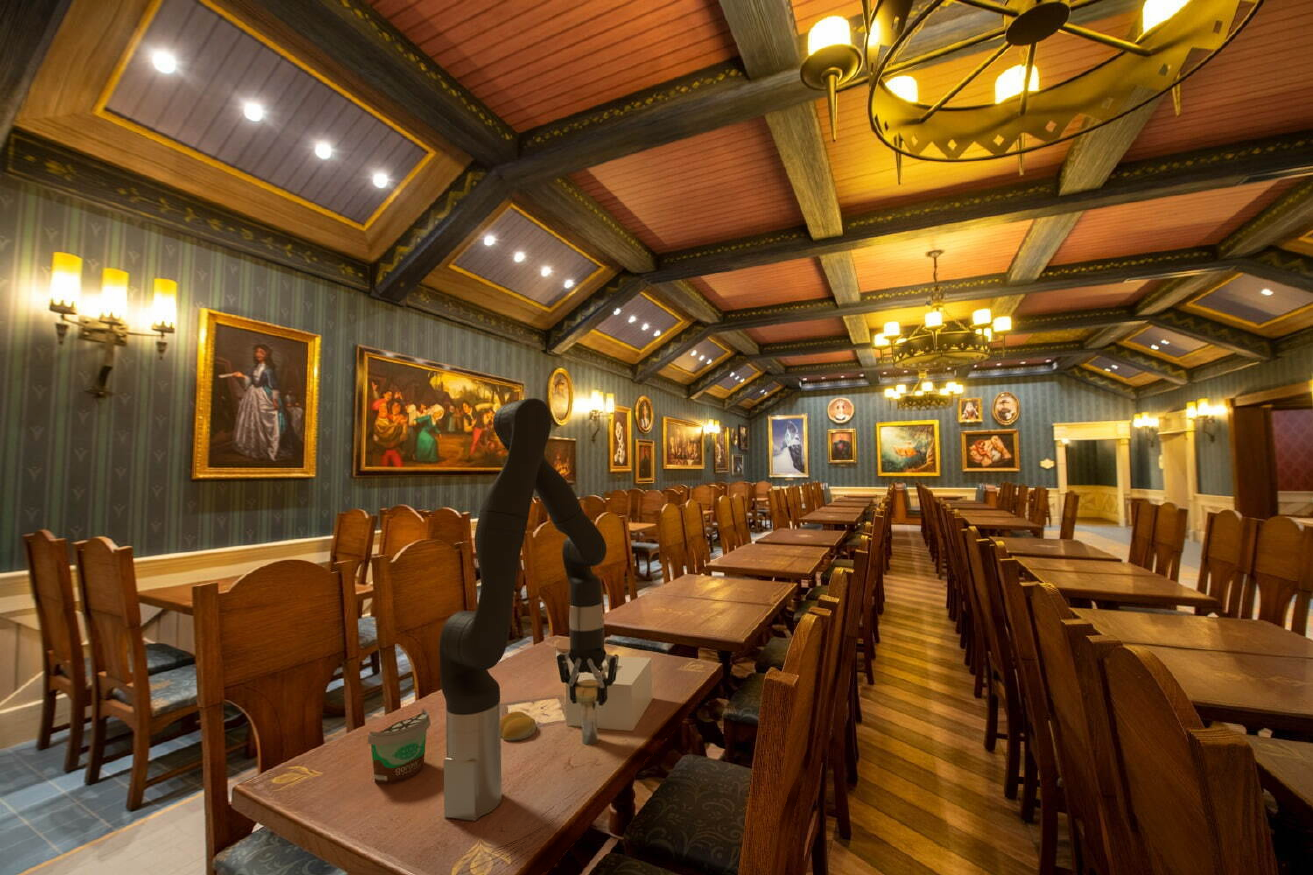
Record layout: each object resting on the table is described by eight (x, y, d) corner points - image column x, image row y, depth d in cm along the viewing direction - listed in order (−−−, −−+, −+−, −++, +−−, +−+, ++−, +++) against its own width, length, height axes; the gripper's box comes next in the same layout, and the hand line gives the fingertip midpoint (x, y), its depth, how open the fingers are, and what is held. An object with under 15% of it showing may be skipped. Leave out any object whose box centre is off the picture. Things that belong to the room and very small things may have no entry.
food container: (386, 795, 99) (386, 739, 100) (367, 786, 103) (367, 732, 103) (443, 763, 110) (443, 713, 111) (425, 756, 113) (424, 707, 114)
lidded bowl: (596, 681, 151) (595, 641, 152) (551, 682, 151) (551, 642, 152) (601, 665, 164) (600, 628, 164) (560, 666, 164) (559, 629, 164)
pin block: (632, 730, 121) (631, 685, 122) (566, 725, 125) (565, 680, 126) (652, 697, 138) (651, 658, 139) (594, 693, 142) (593, 655, 143)
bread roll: (509, 746, 117) (509, 727, 117) (492, 732, 123) (491, 714, 124) (543, 733, 122) (543, 714, 122) (525, 720, 129) (524, 703, 129)
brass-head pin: (597, 748, 114) (595, 689, 115) (572, 746, 115) (571, 688, 116) (606, 735, 119) (604, 679, 120) (582, 733, 121) (581, 678, 121)
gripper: (549, 628, 117) (551, 708, 116) (612, 630, 114) (614, 713, 112) (563, 618, 124) (565, 694, 123) (622, 620, 121) (625, 698, 120)
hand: (588, 702), depth 118 cm, fingers closed on brass-head pin, 5 cm apart
